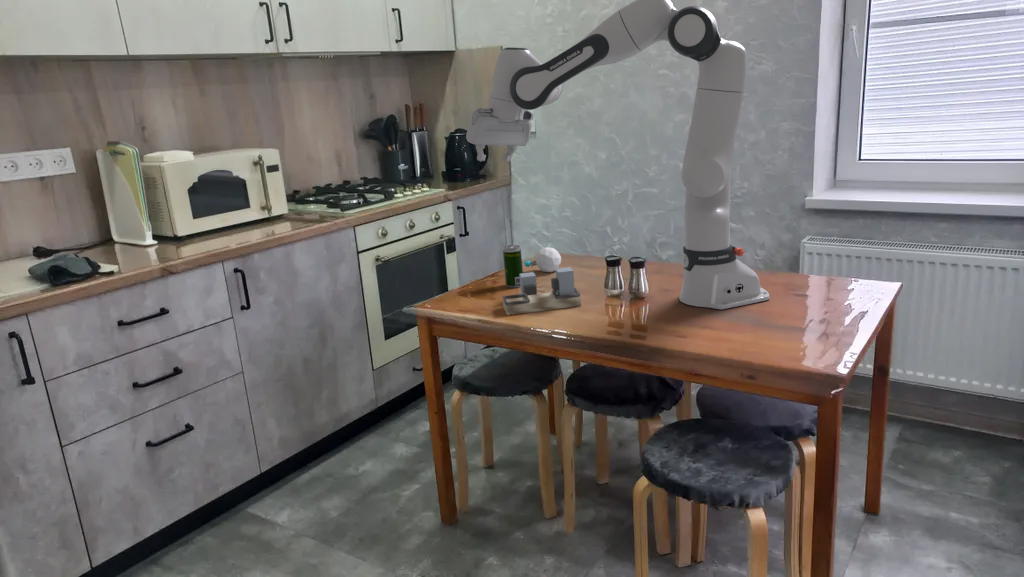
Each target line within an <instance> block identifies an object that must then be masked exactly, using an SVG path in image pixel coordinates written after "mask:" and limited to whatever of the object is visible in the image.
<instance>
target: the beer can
mask: <svg viewBox="0 0 1024 577" xmlns="http://www.w3.org/2000/svg"><path fill="white" fill-rule="evenodd" d="M502 248H503V250H502V257H503V267H504V268H503V270H504V277H505V278H504V279H505V285H506V287H507V288H509V289H517V288H521V287H520V276H519V274H522V273H524V270H523V259H522V248H521V246H520V245H519V244H509V245H505V246H503V247H502Z"/></svg>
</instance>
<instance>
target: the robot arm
mask: <svg viewBox="0 0 1024 577" xmlns="http://www.w3.org/2000/svg"><path fill="white" fill-rule="evenodd" d="M718 25H719V24H718V22H717V19H716V18H715V16H714V14H712V12H711V11H709V10H708V9H706V8H705V7H701V6H698V5H690V6H685V7H683V8H681V9H677V8H676V7H675V6H674V4H673V2H672V1H671V0H634V1H632V2H630V3H628V4H627V5H625V6H623V7H621V8H620V9H619V10H617V11H616V12H614V13H613V14H611V15H610V16H608V17H607V18H606V19H605V20H603V21H602V22H601V23H600V24H599V25H598V26H596V27H595V28H594V29H593V30H592V31H591V32H589V33H588V34H587V35H586V36H584V37H583V38H582V39H580V41H578V42H577V43H576V44H574V45H572V46H571V47H569V48H568V49H566V50H564V51H562V52H561V53H559V54H557V55H556V56H554V57H553V58H551V59H550V60H547V61H546V62H544V63H542V62H541V61H540V60H539V59H537V57H535V55H533V54H532V52H531V50H530V49H528V48H525V47H504V48H502V49H501V50H500V52H499V54H498V56H497V59H496V62H495V66H494V71H493V76H492V87H491V91H490V93H489V96H488V102H487V108H482V107H479V108H477V109H475V110H474V111H473V112H472V115H471V118H470V121H469V124H468V127H467V131H466V135H465V138H466V140H467V142H468V143H470V144H473V145H475V149H476V152H477V156H476V160H477V161H479V162H485V161H486V157H487V155H486V154H484V149H486V148H485V147H486V146H505V147H507V151H506V152H505V153H503V155H502V156H503V157H502V161H504V162H511V160H512V156H513V155H514V153H515V151H516V150H517V148H518V147H525V146H527V145H528V144H529V141H530V136H531V132H532V126H533V125H532V122H531V121H533V120H534V116H535V114H534V113H533V112H532V110H535V109H536V110H537V109H538V108H540V107H544V106H547V105H550V104H553V103H554V102H556V101H557V100H558V99H559V97H560V96H561V94H562V91H563V84H564V83H566V82H568V81H569V80H571V79H573V78H574V77H576V76H578V75H580V74H581V73H583V72H585V71H588V70H590V69H593V68H596V67H600V66H606V65H611V64H617V63H619V62H620V63H621V62H622V61H624V60H627V59H629V58H632V57H634V56H635V55H637V54H639V53H640V52H642V51H644V50H645V49H647V48H648V47H650V46H651V45H653V44H656V43H658V42H661V41H666V42H668V43H669V46H670V47H671V48H672V49H673V50H674V51H675V52H677V53H678V54H679V55H681V56H683V57H685V58H689V59H692V60H694V61H696V62H697V64H698V70H699V71H698V79H697V83H696V84H697V86H696V90H695V91H696V92H695V97H694V103H693V108H692V109H693V110H692V117H691V122H690V127H689V131H688V137H687V141H686V145H685V146H686V147H685V151H684V152H685V153H684V157H683V162H682V167H681V172H680V173H681V181H682V184H683V186H684V187H685V205H684V245H683V248H682V251H683V252H682V263H683V269H684V270H683V280H682V286H681V291H680V294H679V297H678V298H679V301H680V302H681V303H683V304H685V305H688V306H693V307H700V308H701V307H702V308H708V309H709V308H711V309H715V310H726V309H730V308H736V307H741V306H745V305H751V304H754V303H759V302H765V301H768V300H770V293H769V292H768V291H767V290H766V289H765V288H763V287H762V286H761V283H760V278H759V275H758V274H757V272H755V271H754V270H753V269H752V268H750V267H749V266H747V265H746V264H745V263H744V262H742V261H740V260H739V259H738V258H737V256H738V257H742V256H743V255H744V254H745V250H744V249H743V248H741V247H735V246H733V245H731V244H730V243H731V242H730V232H731V231H730V228H731V227H730V226H731V225H730V223H731V222H730V220H731V219H730V218H731V187H732V186H731V185H732V184H731V181H732V179H731V178H732V159H733V154H734V148H735V144H736V138H737V134H738V129H739V124H740V118H741V111H742V108H743V107H742V106H743V100H744V96H745V95H744V94H745V89H746V84H747V83H746V82H747V72H748V69H747V68H748V55H747V50H746V48H745V47H744V46H743V45H742V44H740V43H739V42H738V41H734V40H727V39H724V38H722V37H721V35H720V32H719V26H718Z"/></svg>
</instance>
